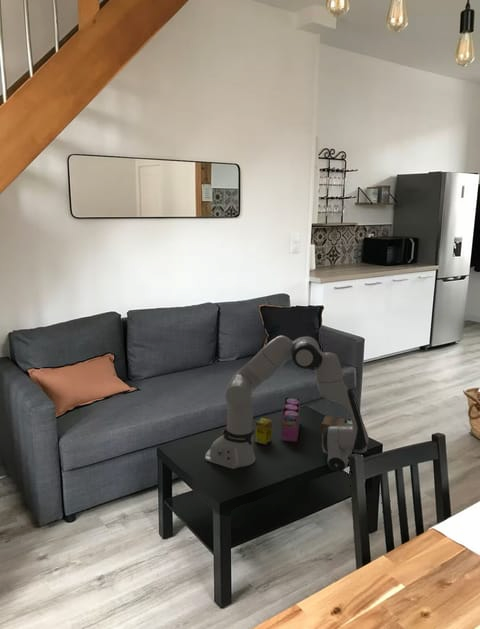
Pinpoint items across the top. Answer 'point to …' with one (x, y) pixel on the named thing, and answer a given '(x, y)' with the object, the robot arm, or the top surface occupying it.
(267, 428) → the supplement box
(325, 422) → the walnut block
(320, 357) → the robot arm
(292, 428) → the gum box
